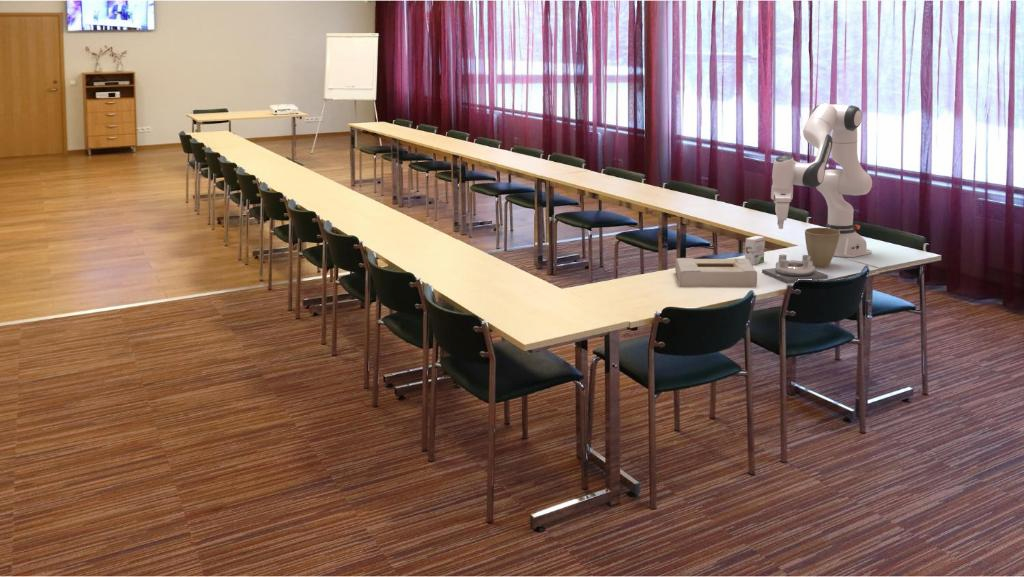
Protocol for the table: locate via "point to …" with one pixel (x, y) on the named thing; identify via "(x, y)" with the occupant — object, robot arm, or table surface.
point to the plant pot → (821, 245)
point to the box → (715, 272)
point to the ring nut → (795, 266)
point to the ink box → (755, 249)
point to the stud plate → (792, 279)
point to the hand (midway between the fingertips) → (780, 226)
